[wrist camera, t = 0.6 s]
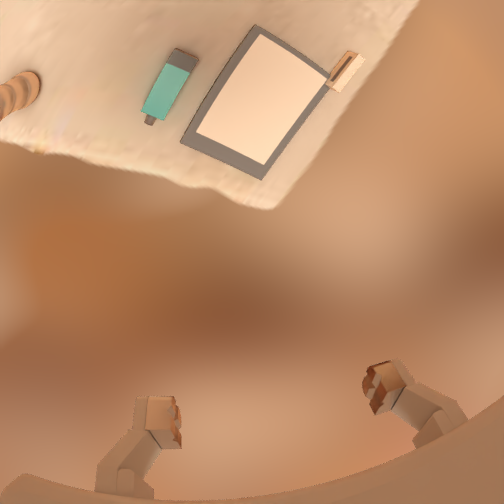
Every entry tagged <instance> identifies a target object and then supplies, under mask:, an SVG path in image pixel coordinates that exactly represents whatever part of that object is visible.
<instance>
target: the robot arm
mask: <svg viewBox="0 0 504 504" xmlns="http://www.w3.org/2000/svg"><path fill="white" fill-rule="evenodd" d="M366 372H367V375H366V376H365V377H364V379H363V382H362V388H363V392H364V394H365V396H366V397H367V398H369V399H370V406H371V408H372V411H373V412H374V414H375V415H378V414H381V413H384V412H387V411H390V410H391V412H393V413H394V414H396V415H397V416H399V417H400V418H401V419H403V420H404V421H405V422H407V423H408V424H410V425H411V426H412V427H414V428H415V429H417V430H418V431H419V432H418V433H417V434H416V436H415V437H414V438H413V443H414V445H415V447H416V449H415V450H413V451H411V452H409V453H407V454H404V455H402V456H400V457H398V458H395V459H393V460H390V461H388V462H386V463H383V464H380V465H378V466H376V467H373V468H370V469H368V470H364V471H362V472H359V473H356V474H353V475H349V476H346V477H344V478H340V479H337V480H333V481H330V482H326V483H322V484H318V485H314V486H310V487H305V488H301V489H297V490H292V491H287V492H281V493H275V494H269V495H263V496H255V497H247V498H237V499H226V500H225V499H224V500H206V501H205V500H203V501H174V500H154V489H153V488H152V487H151V486H149V485H148V484H147V483H146V482H145V481H144V480H143V478H144V477H145V475H146V474H147V472H148V471H149V469H150V468H151V466H152V465H153V463H154V462H155V460H156V459H157V457H158V455H159V454H160V453H161V451H162V449H181V434H180V432H179V429H180V428H181V415H180V410H179V408H178V406H177V405H176V401H175V398H174V396H159V397H158V396H156V397H155V396H138V397H137V398H136V401H135V408H134V416H133V425H132V430H128V431H127V432H126V433H125V435H123V437H122V438H121V439H120V440H119V441H118V442H117V443H116V445H115V446H114V447H113V448H112V449H111V450H110V451H109V452H108V453H107V455H106V456H105V457H104V458H103V459H102V460H101V461H100V462H99V463H98V465H97V472H96V482H95V490H94V492H93V491H88V490H84V489H79V488H75V487H71V486H67V485H63V484H59V483H56V482H52V481H49V480H46V479H43V478H40V477H37V476H34V475H31V474H22V475H20V476H18V477H17V478H16V479H15V480H14V481H12V482H11V483H10V484H9V485H8V486H6V487H5V488H4V489H3V491H2V493H1V496H0V504H504V396H502V397H501V398H500V399H498V400H497V401H496V402H494V403H493V404H491V405H490V406H489V407H487V408H486V409H484V410H483V411H481V412H480V413H479V414H477V415H475V416H474V417H472V418H471V419H469V420H468V418H467V417H466V415H465V414H464V412H463V411H462V409H461V408H460V406H459V404H458V403H457V401H455V400H453V399H451V398H449V397H447V396H445V395H443V394H441V393H439V392H437V391H435V390H434V389H432V388H430V387H428V386H426V385H424V384H422V383H420V382H417V383H416V381H415V380H414V378H413V377H412V375H411V374H410V372H409V371H408V369H407V368H406V366H405V365H404V363H403V362H402V361H401V359H400V358H396V359H392V360H389V361H385V362H382V363H378V364H375V365H372V366H369V367H368V368H367V371H366Z"/></svg>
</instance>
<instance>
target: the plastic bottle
mask: <svg viewBox="0 0 504 504" xmlns="http://www.w3.org/2000/svg"><path fill="white" fill-rule="evenodd" d="M38 92H39V80H38V78H37V76H36V75H35V74H34V73H32V72H23V73H20V74H18V75H16V76H15V77H14V78H12V79H11V80H10V81H8V82H6V83H5V84H3V85H0V121H1V120H2V119H3V118H5V117H6V116H7V115H9V114H10V113H12V112H14V111H16V110H20V109H23V108H25V107H27V106H29V105H30V104H31V103H32V102H33V101H34V100H35V98H36V97H37V95H38Z"/></svg>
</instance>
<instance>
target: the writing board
mask: <svg viewBox="0 0 504 504" xmlns="http://www.w3.org/2000/svg"><path fill="white" fill-rule="evenodd" d="M330 76H331V75H330V74H328V73H327V72H326V71H325V70H323V69H322V68H321V67H319V66H318V65H317V64H315V63H314V62H313V61H311V60H310V59H308V58H307V57H306V56H304V55H303V54H301V53H300V52H298V51H297V50H295V49H294V48H293V47H291V46H290V45H288V44H286V43H285V42H283V41H282V40H280V39H279V38H277V37H276V36H274V35H272V34H271V33H269V32H267V31H266V30H264V29H262V28H261V27H259V26H257V25H254V26H253V28H252V29H251V30H250V32H249V33H248V34H247V36H246V37H245V39H244V40H243V41H242V43H241V44H240V46H239V47H238V48H237V50H236V51H235V53H234V54H233V56H232V57H231V58H230V60H229V61H228V63H227V64H226V66H225V67H224V69H223V70H222V72H221V73H220V75H219V77H218V78H217V80H216V81H215V83H214V84H213V86H212V88H211V89H210V91H209V92H208V94H207V96H206V97H205V99H204V101H203V102H202V104H201V106H200V107H199V109H198V111H197V112H196V114H195V116H194V118H193V119H192V121H191V123H190V125H189V126H188V128H187V130H186V132H185V134H184V135H183V137H182V139H181V141H180V143H181V144H184V145H186V146H188V147H190V148H193V149H195V150H197V151H200V152H202V153H204V154H206V155H209V156H211V157H213V158H215V159H217V160H220V161H222V162H224V163H226V164H228V165H230V166H232V167H235V168H237V169H239V170H241V171H243V172H245V173H247V174H249V175H251V176H253V177H255V178H257V179H259V180H262V179H263V178H264V176H265V175H266V173H267V172H268V171H269V169H270V168H271V166H272V165H273V164H274V162H275V161H276V160H277V158H278V157H279V155H280V154H281V153H282V151H283V150H284V149H285V147H286V146H287V144H288V143H289V142H290V140H291V139H292V138H293V136H294V135H295V134H296V132H297V131H298V130H299V128H300V127H301V126H302V124H303V123H304V122H305V120H306V119H307V118H308V116H309V115H310V114H311V112H312V111H313V110H314V108H315V107H316V106H317V104H318V103H319V102H320V100H321V99H322V98H323V96H324V95H325V94H326V93H327V91H328V90H329V89H330V87H328V86H327V85H326V84H325V83H326V81H327V80H328V79H329V78H330Z"/></svg>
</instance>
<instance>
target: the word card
mask: <svg viewBox="0 0 504 504" xmlns="http://www.w3.org/2000/svg"><path fill="white" fill-rule="evenodd" d="M364 61H365V59H364V58H363V57H362V56H361V55H360V54H358V53H353V52H349V51H348V52H347V53H346V54H345V55H344V57H343V58H342V59H341V60H340V62H339V63H338V64H337V65H336V67H335V68H334V69H333V71H332V72H331V73H330V75H331V76H330V78H329V79H328V80H327V81H326V83H325V84H326V85H327V86H328V87H330V88H331V89H333V90H335V91H337V92H338V93H339V92H340V91H341V90H342V88H343V87H344V86H345V85H346V83H347V82H348V81H349V80H350V78H351V77H352V76H353V74H354V73H355V72H356V71H357V69H358V68H359V67H360V66H361V64H362V63H363V62H364Z"/></svg>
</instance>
